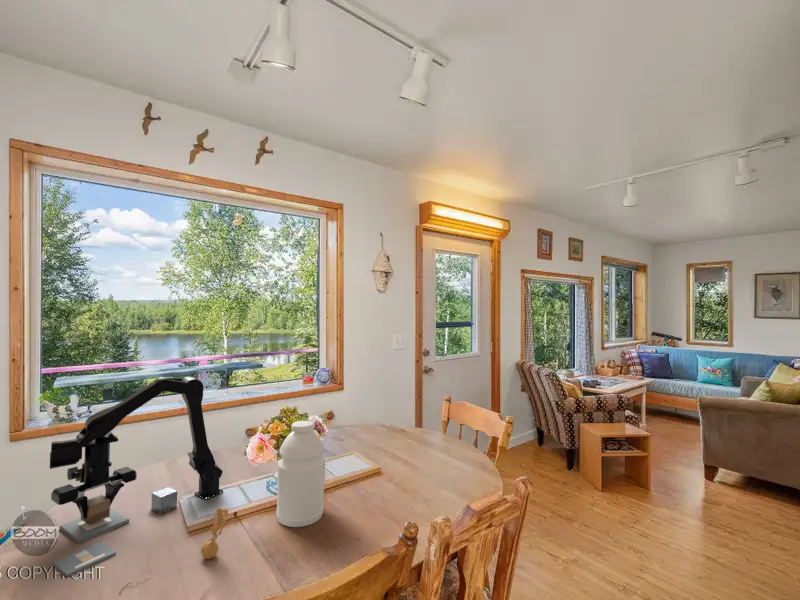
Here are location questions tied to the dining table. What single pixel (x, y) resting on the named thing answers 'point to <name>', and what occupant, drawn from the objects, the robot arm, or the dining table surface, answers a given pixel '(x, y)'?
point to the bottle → (300, 477)
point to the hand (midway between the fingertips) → (95, 514)
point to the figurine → (214, 535)
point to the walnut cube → (97, 509)
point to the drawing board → (83, 559)
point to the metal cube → (164, 500)
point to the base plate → (93, 526)
